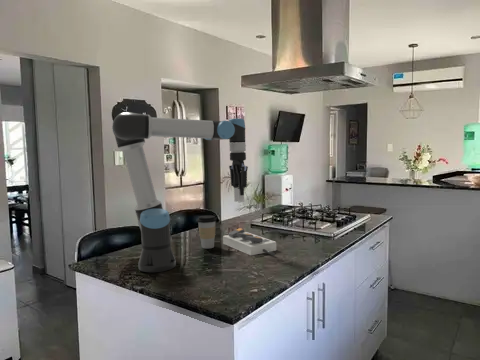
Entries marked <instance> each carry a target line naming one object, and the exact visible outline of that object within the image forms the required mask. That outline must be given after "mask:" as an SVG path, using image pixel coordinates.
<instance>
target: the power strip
mask: <svg viewBox="0 0 480 360" xmlns="http://www.w3.org/2000/svg"><path fill="white" fill-rule="evenodd" d="M245 233H246V234H251V235H253V237H254V236H255V237H260V238H262V239H263V240H262V242H256V241H249V240H246V239H245V238H241V237H238V236H236V237H230V236H229V234H226V235H222V244H223V245H225V246H227V247H230V248H232V249H235V250H237V251H240V252H242V253H244V254H247V255H249V256H255V255H258V254H264V253H265V254H266V253H267V254H269V255H271V256H275V255H276V253H275V251H277V241H274V240H271V239H268V238H265V237H262V236H260V235H257V234H253V233H250V232H248V231H245V232H244V234H245Z"/></svg>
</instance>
